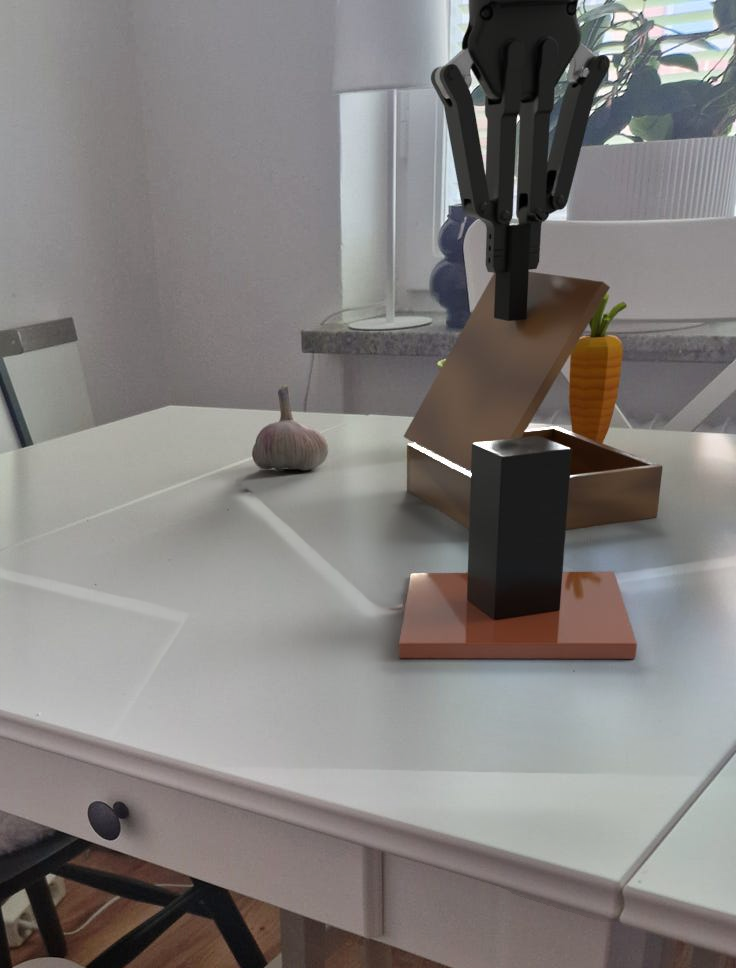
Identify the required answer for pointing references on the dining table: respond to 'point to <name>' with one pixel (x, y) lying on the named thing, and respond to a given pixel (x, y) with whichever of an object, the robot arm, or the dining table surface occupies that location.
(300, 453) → the garlic bulb
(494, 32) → the robot arm
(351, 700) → the dining table surface
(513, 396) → the lid
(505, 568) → the black block
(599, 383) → the carrot
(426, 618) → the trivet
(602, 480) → the wooden box
